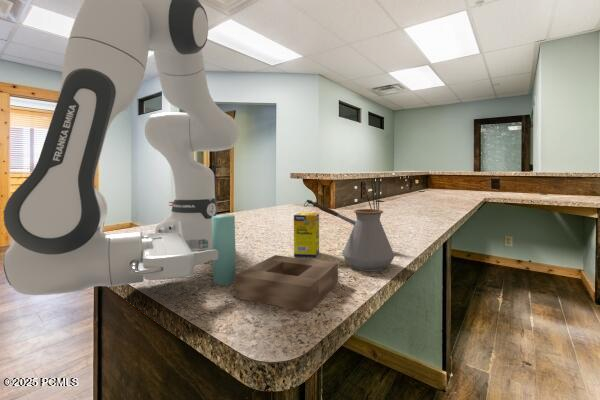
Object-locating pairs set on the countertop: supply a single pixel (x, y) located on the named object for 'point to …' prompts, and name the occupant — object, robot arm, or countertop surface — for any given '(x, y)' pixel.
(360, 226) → the coffee pot
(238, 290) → the socket block
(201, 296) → the countertop surface
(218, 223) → the peg
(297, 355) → the countertop surface
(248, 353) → the countertop surface
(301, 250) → the supplement box
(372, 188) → the reed diffuser
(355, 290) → the countertop surface
